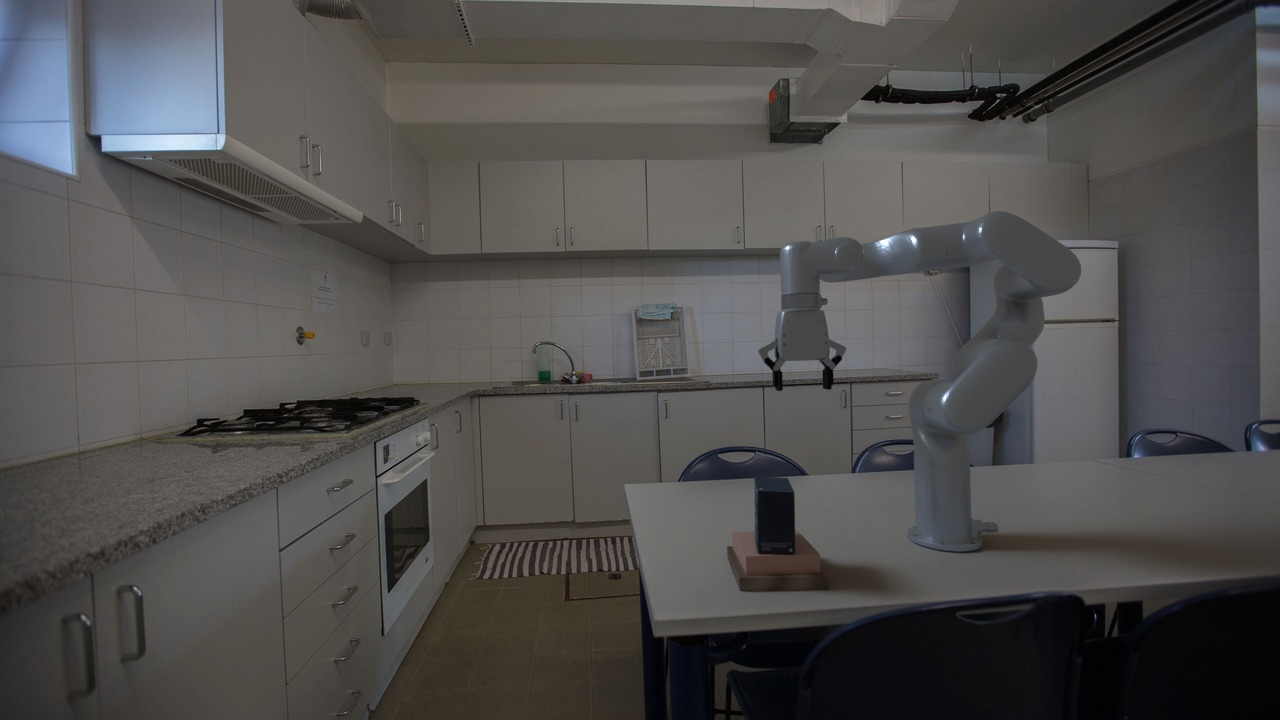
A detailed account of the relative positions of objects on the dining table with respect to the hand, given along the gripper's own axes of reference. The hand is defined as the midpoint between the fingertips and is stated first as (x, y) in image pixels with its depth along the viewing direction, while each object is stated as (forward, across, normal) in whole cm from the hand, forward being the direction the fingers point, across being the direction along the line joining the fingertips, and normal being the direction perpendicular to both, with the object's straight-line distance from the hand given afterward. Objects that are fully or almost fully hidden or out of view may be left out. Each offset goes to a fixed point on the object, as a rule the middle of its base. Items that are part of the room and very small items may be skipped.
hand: (803, 389), depth 104 cm
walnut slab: (+31, +10, +15) cm, 36 cm away
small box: (+26, +10, +15) cm, 31 cm away
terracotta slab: (+28, +10, +15) cm, 33 cm away
